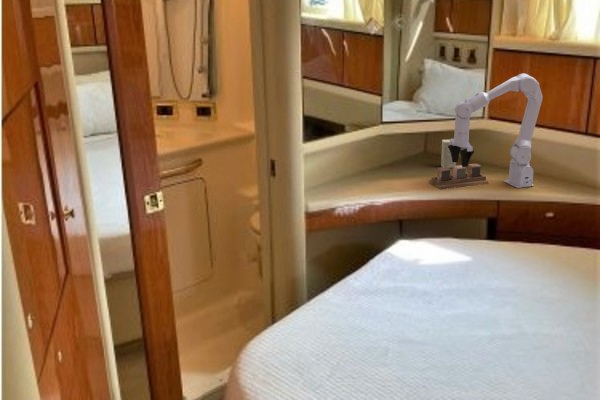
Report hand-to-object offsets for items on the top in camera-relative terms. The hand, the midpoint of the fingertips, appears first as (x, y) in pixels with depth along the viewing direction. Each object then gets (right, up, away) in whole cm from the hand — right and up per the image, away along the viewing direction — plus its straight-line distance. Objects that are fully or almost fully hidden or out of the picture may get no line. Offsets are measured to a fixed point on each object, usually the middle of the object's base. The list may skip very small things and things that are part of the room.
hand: (459, 164), depth 241 cm
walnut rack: (0, -7, +3) cm, 8 cm away
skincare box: (+2, 0, +26) cm, 26 cm away
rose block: (0, -7, +2) cm, 7 cm away
